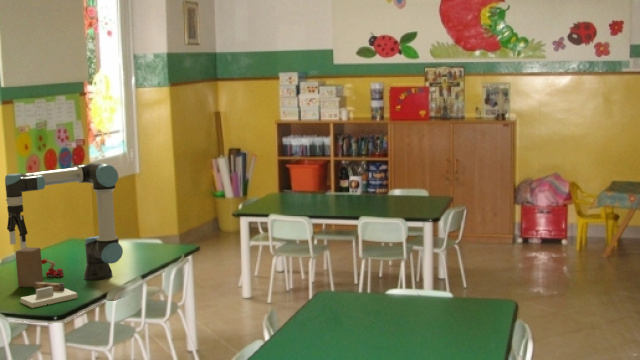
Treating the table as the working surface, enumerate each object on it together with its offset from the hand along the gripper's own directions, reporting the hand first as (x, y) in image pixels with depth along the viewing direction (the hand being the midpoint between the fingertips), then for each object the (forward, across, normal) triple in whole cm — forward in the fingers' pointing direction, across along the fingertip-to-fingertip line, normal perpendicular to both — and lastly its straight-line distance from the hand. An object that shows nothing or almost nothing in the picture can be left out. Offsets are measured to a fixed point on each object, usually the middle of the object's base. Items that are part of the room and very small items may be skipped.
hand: (18, 246), depth 436 cm
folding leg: (+25, +1, +14) cm, 29 cm away
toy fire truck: (+28, -36, +32) cm, 55 cm away
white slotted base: (+28, +12, +9) cm, 32 cm away
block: (+28, -26, +15) cm, 41 cm away
